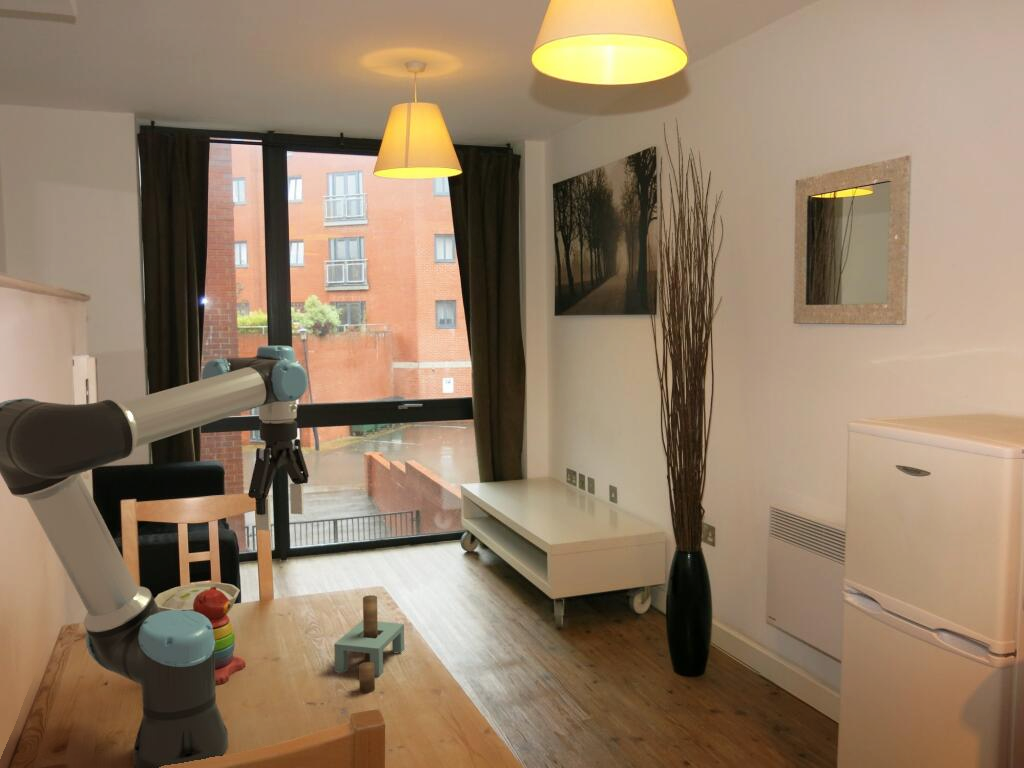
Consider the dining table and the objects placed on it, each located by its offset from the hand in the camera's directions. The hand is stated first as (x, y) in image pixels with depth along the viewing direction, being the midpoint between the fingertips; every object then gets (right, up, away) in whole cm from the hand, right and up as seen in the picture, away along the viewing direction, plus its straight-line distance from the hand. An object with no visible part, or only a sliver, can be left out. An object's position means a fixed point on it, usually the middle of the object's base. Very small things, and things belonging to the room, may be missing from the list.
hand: (281, 521), depth 175 cm
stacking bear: (-14, -32, +1) cm, 35 cm away
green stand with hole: (+18, -31, +7) cm, 36 cm away
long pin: (+18, -31, +7) cm, 36 cm away
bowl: (-26, -30, +23) cm, 46 cm away
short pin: (+19, -32, -7) cm, 38 cm away
